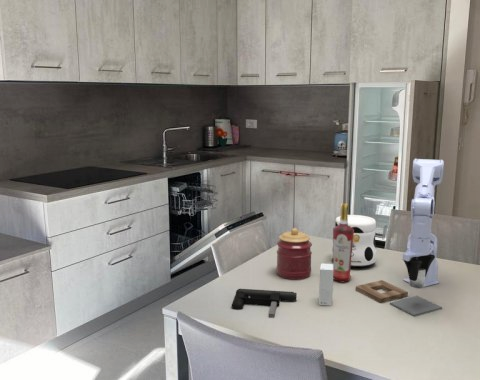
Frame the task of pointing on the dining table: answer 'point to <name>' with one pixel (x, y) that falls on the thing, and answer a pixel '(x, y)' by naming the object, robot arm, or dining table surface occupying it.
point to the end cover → (419, 279)
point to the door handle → (262, 298)
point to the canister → (294, 255)
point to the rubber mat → (415, 305)
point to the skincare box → (326, 284)
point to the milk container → (362, 240)
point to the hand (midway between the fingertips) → (417, 278)
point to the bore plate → (390, 295)
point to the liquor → (342, 247)
